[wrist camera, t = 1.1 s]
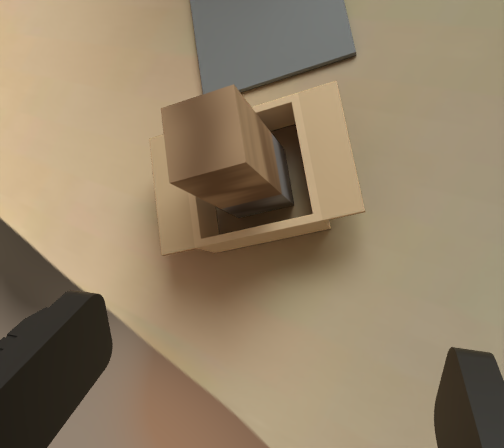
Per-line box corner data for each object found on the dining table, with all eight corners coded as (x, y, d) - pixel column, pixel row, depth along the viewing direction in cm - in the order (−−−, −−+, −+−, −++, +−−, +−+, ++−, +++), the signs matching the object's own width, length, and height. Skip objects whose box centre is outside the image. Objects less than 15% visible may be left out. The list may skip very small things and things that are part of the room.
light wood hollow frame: (343, 103, 36) (336, 80, 32) (368, 220, 33) (364, 210, 30) (172, 153, 40) (149, 138, 37) (184, 259, 38) (161, 255, 34)
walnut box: (284, 149, 37) (233, 84, 25) (294, 205, 36) (246, 162, 24) (230, 164, 38) (160, 108, 27) (238, 218, 37) (169, 183, 26)
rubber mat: (329, -61, 39) (328, -66, 38) (356, 55, 36) (355, 51, 35) (191, -5, 43) (188, -8, 42) (206, 103, 40) (204, 101, 39)
